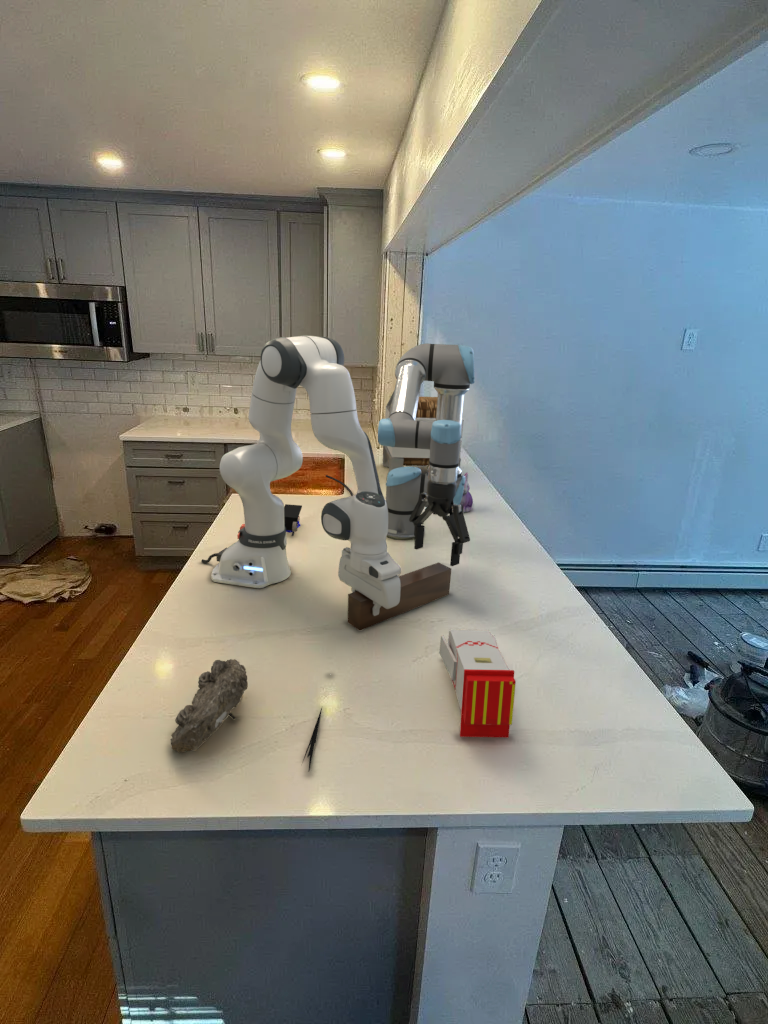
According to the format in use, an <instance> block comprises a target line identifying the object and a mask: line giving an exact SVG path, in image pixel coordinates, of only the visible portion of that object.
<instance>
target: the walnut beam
mask: <svg viewBox="0 0 768 1024" xmlns="http://www.w3.org/2000/svg"><path fill="white" fill-rule="evenodd" d="M398 577H399V579H400V586H401V587H400V602H399V604H398V605H397V606H395V607H392V608H390V609H386V608H384V607H383V606H381V607H380V609H379V614H378V615H376V616H374V615H372V614H371V613H370V608H371V607H374V605H375V604H373V600H371V599H370V598H368V597H366V596H365V595H363V594H362V593H360V592H358V591H356V592H353V593H352V592H349V593H348V594H347V623H348V624H349V625H351V626H352V627H354V628H355V629H356V630H358V631H359V632H361V631H363V630H366V629H368V628H371V627H373V626H375V625H378V624H380V623H383V622H385V621H388V620H390V619H392V618H395V617H398V616H400V615H403V614H405V613H407V612H410V611H412V610H414V609H417V608H419V607H422V606H425V605H426V604H429V603H431V602H434V601H436V600H439V599H441V598H443V597H446V596H448V595H450V589H451V580H452V568H451V567H449V566H447V565H445V564H443V563H441V562H435V563H433V564H430V565H428V566H427V565H426V566H425V567H424V566H423V567H422V568H418V569H416V570H413V571H410V572H407V573H405V574H400V575H398Z"/></svg>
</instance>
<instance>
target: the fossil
mask: <svg viewBox="0 0 768 1024" xmlns="http://www.w3.org/2000/svg"><path fill="white" fill-rule="evenodd" d="M197 683H198V684H197V687H198V690H197V691H196V693H195V694H194V697H193V698H192V701H191V704H187V705H185V706H184V707H183V708H182V709H181V710H179V712H178V713H177V715H176V717H175V719H174V721H175V723H176V725H177V726H176V728H175V730H174V731H173V732H172V733H171V735H170V736H171V738H170V747H171V750H172V751H176V752H178V753H186V752H190V751H193V752H195V751H197V750H198V749H199V748H200V747H201V746H202V745H203V744H204V743H205V742H207V741H208V740H209V739H210V737H211V736H212V735H213V734H215V733H216V731H218V730H219V729H220V728H221V726H222V725H223V723H224V721H225V720H226V719H227V718H228V717H230V718H232V720H235V719H236V716H235V715H234V714H233V713H232V710H233V709H235V708H237V706H238V705H239V704H240V702H241V700H242V698H243V696H244V693H245V691H246V690H247V689H248V686H249V685H248V675H247V669H246V668H245V666H244V665H243V664H241V663H240V661H238V660H237V659H236V658H234V659H232V658H230V659H226V660H221V659H216V660H214V661H213V662H212V665H211V667H210V671H208V670H207V671H205V672H201V674H200V675H199V676H198V681H197Z"/></svg>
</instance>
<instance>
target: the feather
mask: <svg viewBox="0 0 768 1024" xmlns="http://www.w3.org/2000/svg"><path fill="white" fill-rule="evenodd" d="M329 675H330V676H331V675H332V674H331V673H330V674H329ZM322 710H323V707H321V708H320V710H319V713H318V716H317V719H316V723H315V725H314V728H313V731H312V733H311V737H310V739H309V742H308V745H307V748H306V751H305V754H304V757H303V760H302V763H301V767H302V765H303V763H304V761H305V758H308V759H309V760H308V762H307V763H308V764H307V766H308V771H310V770H311V766H312V765H311V764H312V760H313V757H315V756H314V755H315V751H316V749H315V746H317V739H318V733H319V729H320V722H321V717H322V712H323V711H322ZM313 754H314V755H313ZM306 755H307V757H306Z"/></svg>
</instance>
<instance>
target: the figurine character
mask: <svg viewBox="0 0 768 1024" xmlns="http://www.w3.org/2000/svg"><path fill="white" fill-rule="evenodd" d="M302 508H303V504H301V505H300V504H287V503H286V504H284V526H285V528H286V533H291V537H293V536H295V533H297V532H298V528H300V527H301V523H300V521H301V518H300V517H301V516H300V514H301V511H302Z"/></svg>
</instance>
